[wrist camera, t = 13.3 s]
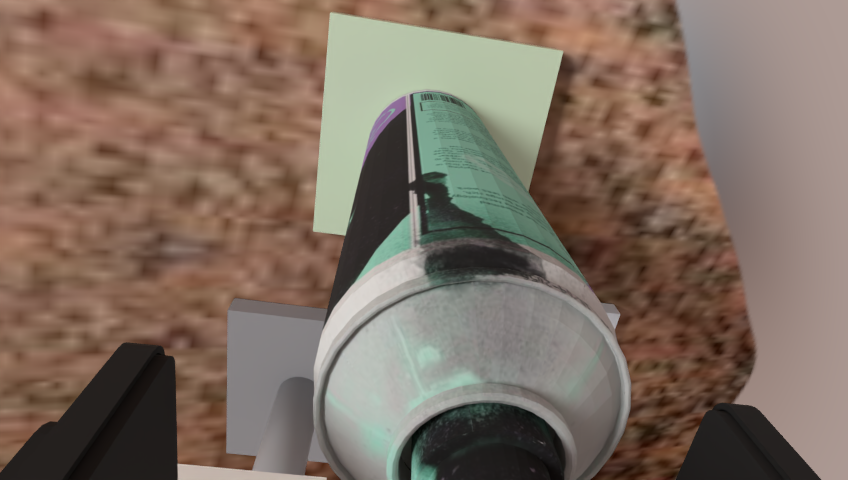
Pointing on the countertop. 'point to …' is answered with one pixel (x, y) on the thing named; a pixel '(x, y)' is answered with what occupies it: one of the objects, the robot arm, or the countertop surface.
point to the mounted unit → (269, 391)
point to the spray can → (460, 319)
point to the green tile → (417, 70)
